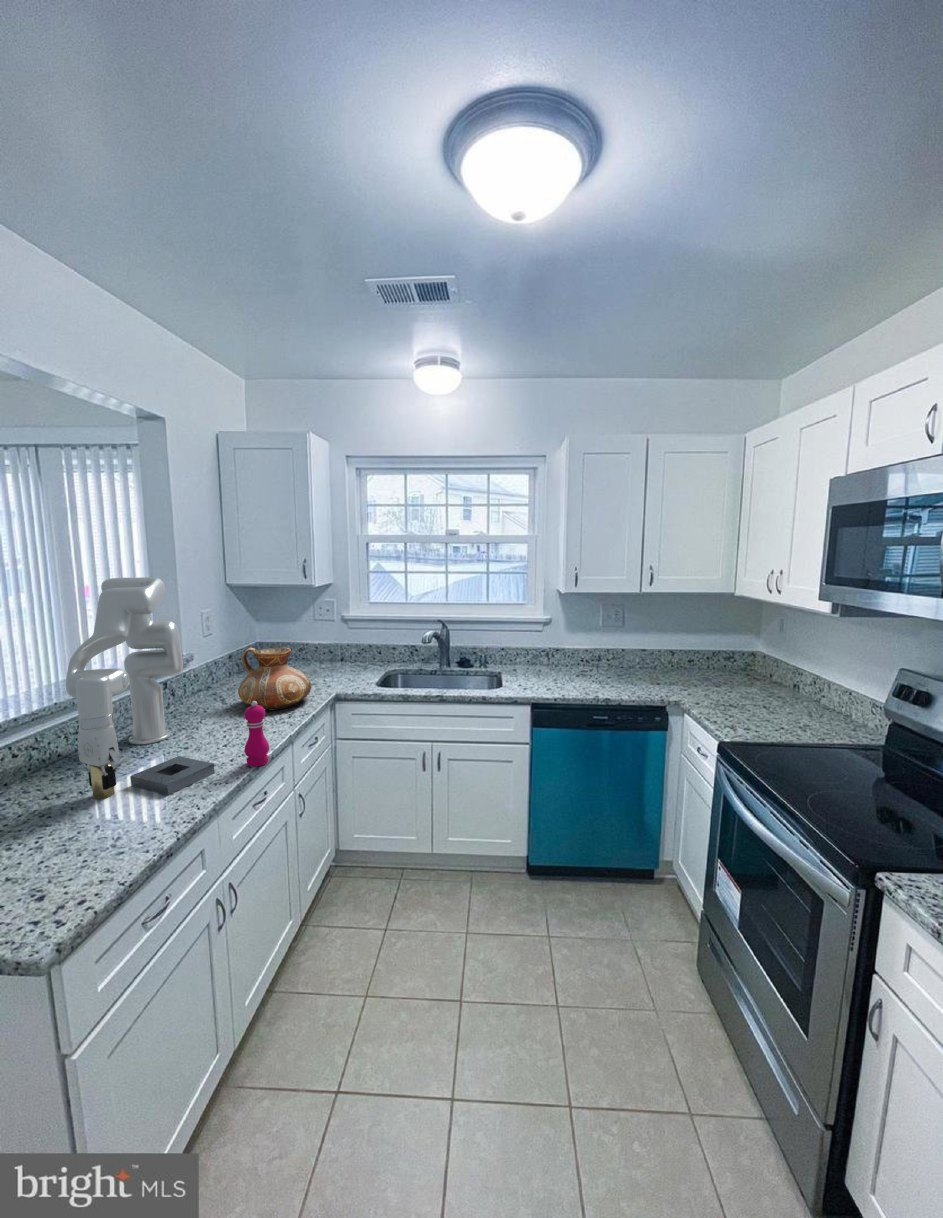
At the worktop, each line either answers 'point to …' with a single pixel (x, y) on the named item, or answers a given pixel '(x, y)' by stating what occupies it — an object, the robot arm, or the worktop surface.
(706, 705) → the worktop surface
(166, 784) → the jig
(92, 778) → the cylinder
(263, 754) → the pepper mill
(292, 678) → the jug
